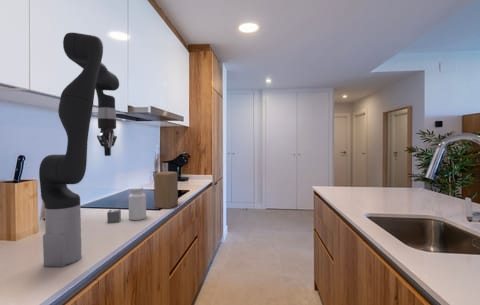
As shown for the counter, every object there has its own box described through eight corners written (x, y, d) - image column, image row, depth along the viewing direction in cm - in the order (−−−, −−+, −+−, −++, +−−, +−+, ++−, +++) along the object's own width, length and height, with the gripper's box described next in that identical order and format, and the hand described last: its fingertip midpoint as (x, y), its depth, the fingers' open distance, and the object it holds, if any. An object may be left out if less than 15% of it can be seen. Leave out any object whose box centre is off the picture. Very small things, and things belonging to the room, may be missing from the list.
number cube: (119, 222, 122) (119, 211, 121) (107, 223, 120) (107, 212, 120) (120, 219, 126) (120, 208, 126) (109, 220, 125) (109, 209, 125)
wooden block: (153, 208, 148) (153, 173, 147) (163, 204, 158) (163, 171, 157) (169, 209, 145) (168, 173, 145) (178, 205, 155) (178, 171, 154)
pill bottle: (131, 221, 122) (131, 189, 122) (126, 218, 128) (126, 187, 128) (148, 218, 127) (148, 188, 127) (143, 215, 133) (142, 186, 133)
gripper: (107, 116, 114) (107, 156, 114) (122, 119, 127) (122, 155, 128) (90, 117, 114) (91, 156, 115) (107, 119, 127) (107, 155, 128)
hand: (107, 155), depth 121 cm, fingers closed
